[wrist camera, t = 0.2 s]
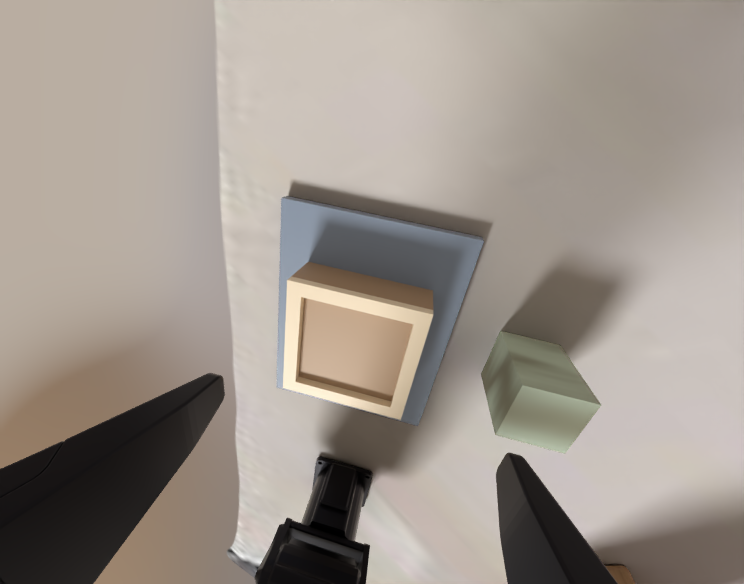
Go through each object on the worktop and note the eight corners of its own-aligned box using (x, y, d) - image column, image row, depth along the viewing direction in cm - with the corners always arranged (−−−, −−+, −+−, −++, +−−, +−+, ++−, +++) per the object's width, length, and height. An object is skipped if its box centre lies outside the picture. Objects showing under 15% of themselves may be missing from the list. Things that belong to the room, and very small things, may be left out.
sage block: (535, 387, 24) (565, 453, 19) (481, 374, 24) (495, 434, 19) (559, 344, 22) (601, 405, 17) (500, 330, 22) (522, 385, 17)
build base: (418, 417, 28) (416, 462, 24) (281, 380, 29) (256, 417, 25) (481, 237, 20) (495, 258, 16) (287, 196, 21) (253, 205, 17)
